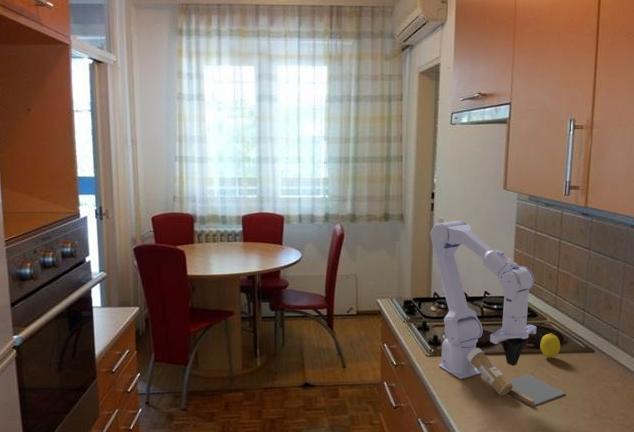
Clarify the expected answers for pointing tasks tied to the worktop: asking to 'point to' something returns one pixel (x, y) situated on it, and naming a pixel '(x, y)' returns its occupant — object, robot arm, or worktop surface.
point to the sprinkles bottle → (489, 371)
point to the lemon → (550, 345)
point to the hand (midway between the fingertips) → (511, 363)
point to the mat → (533, 390)
